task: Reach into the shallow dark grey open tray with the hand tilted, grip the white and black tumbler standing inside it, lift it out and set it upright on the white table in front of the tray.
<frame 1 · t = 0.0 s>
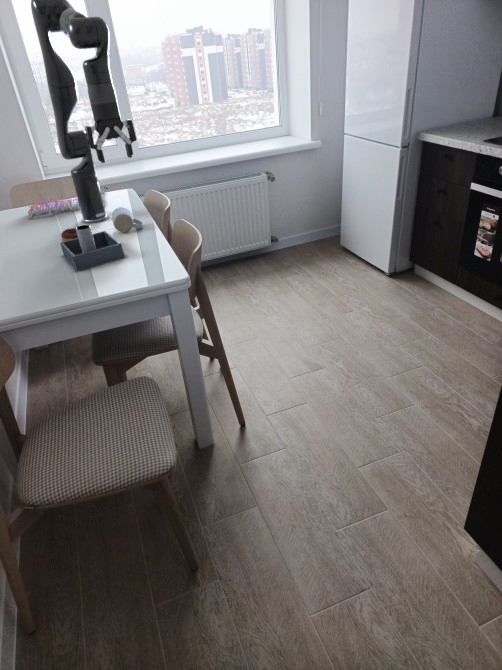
hand: (116, 159, 144), 29 cm above the table, tool pointing down, fingers open, 8 cm apart
ceramic mug: (128, 229, 179), on the table
donut: (77, 241, 172), on the table
white and black tumbler: (91, 257, 157), resting on dark grey open tray
dark grey open tray: (93, 256, 158), on the table
multicolour bumpy slab: (65, 210, 208), on the table
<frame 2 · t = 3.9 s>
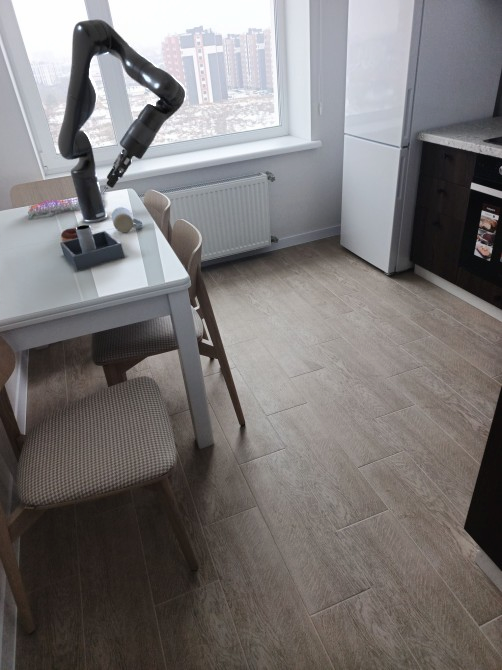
hand: (109, 182, 147), 23 cm above the table, tool tilted 45°, fingers open, 8 cm apart
nothing on the table moved.
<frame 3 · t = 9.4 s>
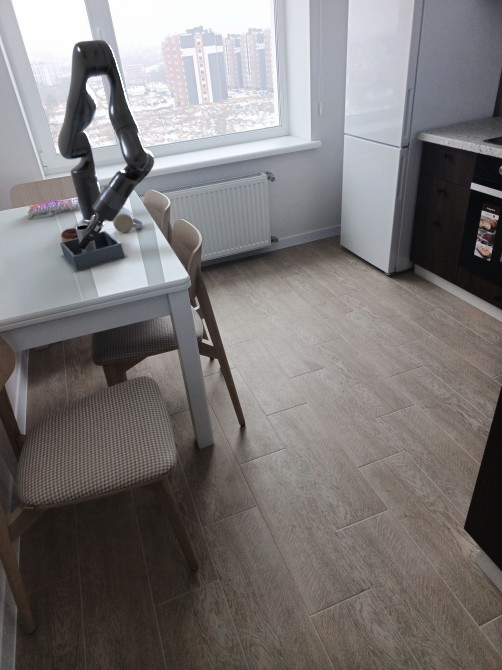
hand: (81, 244, 154), 5 cm above the table, tool tilted 45°, fingers closed on white and black tumbler, 4 cm apart
white and black tumbler: (91, 257, 157), resting on dark grey open tray, touching gripper
everything else where it was.
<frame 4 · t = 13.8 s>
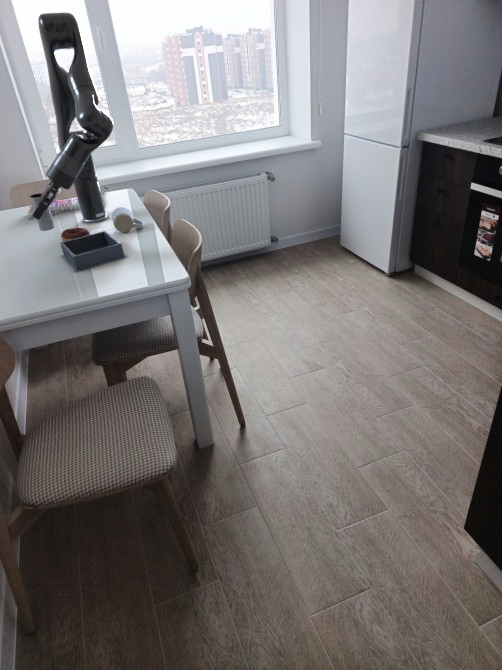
hand: (36, 215, 145), 17 cm above the table, tool tilted 45°, fingers closed on white and black tumbler, 4 cm apart
white and black tumbler: (47, 229, 148), point 12 cm above the table, touching gripper
everything else where it was.
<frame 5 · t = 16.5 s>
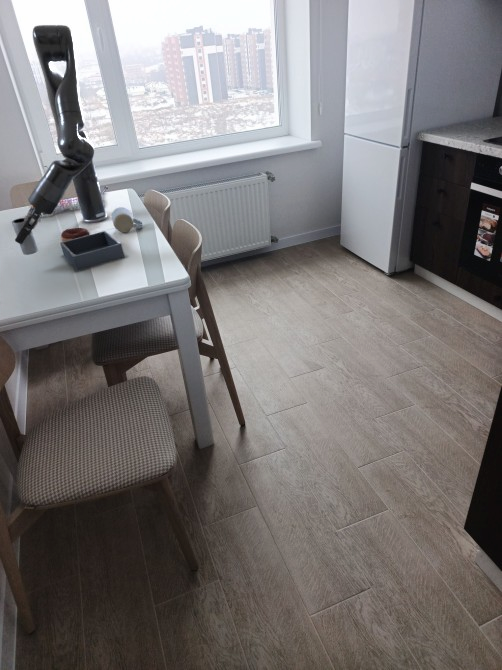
hand: (19, 239, 146), 10 cm above the table, tool tilted 45°, fingers closed on white and black tumbler, 4 cm apart
white and black tumbler: (31, 252, 149), point 6 cm above the table, touching gripper
everything else where it was.
when the fingers open (5 cm above the table, at t = 18.6 s): white and black tumbler stays where it is, on the table.
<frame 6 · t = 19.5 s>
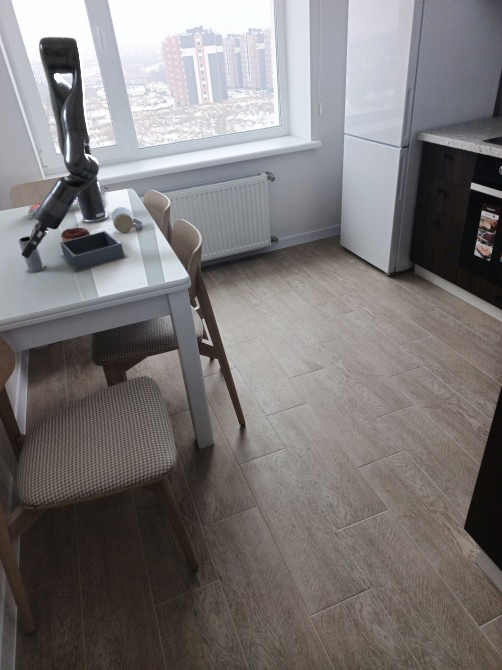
hand: (26, 251, 149), 6 cm above the table, tool tilted 45°, fingers open, 8 cm apart
white and black tumbler: (36, 269, 152), on the table
everything else where it was.
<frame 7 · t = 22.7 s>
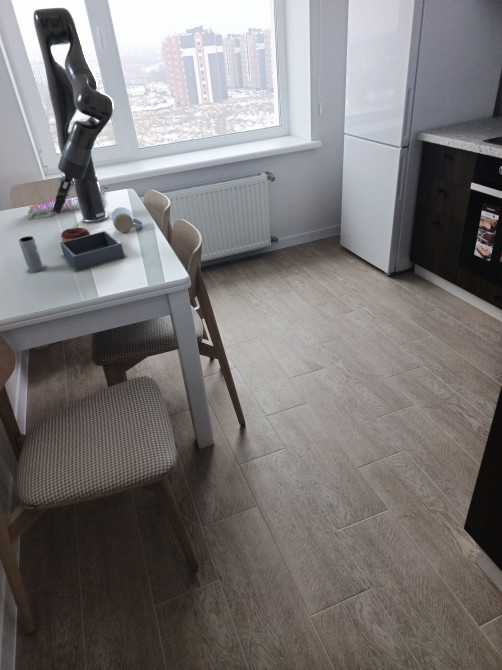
hand: (58, 207, 147), 18 cm above the table, tool tilted 35°, fingers open, 8 cm apart
nothing on the table moved.
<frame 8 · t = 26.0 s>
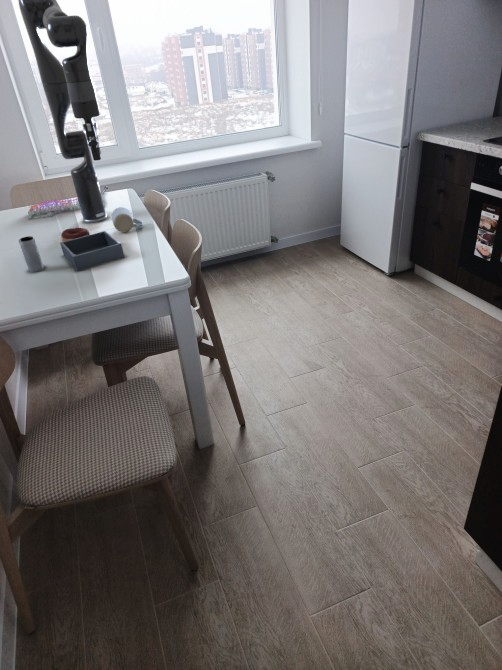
hand: (97, 157, 146), 30 cm above the table, tool pointing down, fingers open, 8 cm apart
nothing on the table moved.
at the end: white and black tumbler inside the target area (0.1 cm from its centre), on the table; white and black tumbler tilted 0°; white and black tumbler touching table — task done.
